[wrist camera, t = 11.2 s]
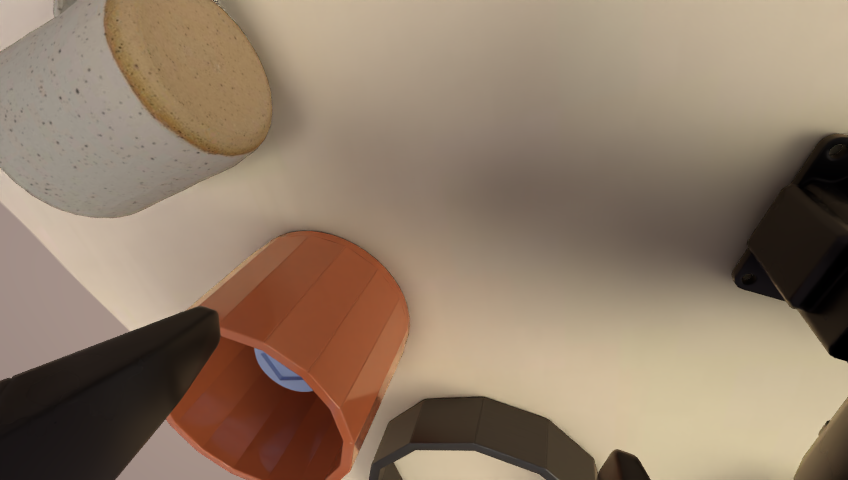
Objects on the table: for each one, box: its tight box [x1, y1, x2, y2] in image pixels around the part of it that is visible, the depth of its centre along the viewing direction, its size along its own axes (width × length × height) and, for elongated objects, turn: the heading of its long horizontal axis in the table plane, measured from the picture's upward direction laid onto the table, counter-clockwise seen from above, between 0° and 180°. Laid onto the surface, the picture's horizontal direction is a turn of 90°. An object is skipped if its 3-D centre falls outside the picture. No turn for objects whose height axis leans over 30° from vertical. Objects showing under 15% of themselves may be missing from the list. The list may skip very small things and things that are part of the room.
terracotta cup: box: [166, 231, 410, 480], centre depth 23 cm, size 10×10×8 cm
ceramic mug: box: [0, 0, 272, 218], centre depth 17 cm, size 11×8×8 cm
